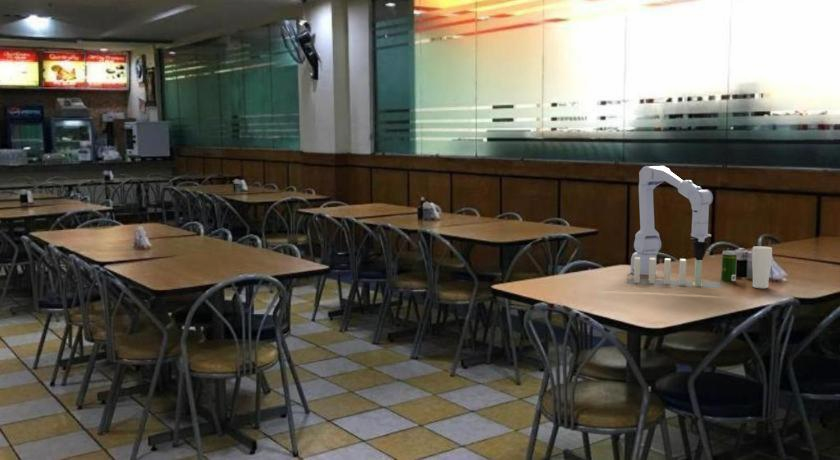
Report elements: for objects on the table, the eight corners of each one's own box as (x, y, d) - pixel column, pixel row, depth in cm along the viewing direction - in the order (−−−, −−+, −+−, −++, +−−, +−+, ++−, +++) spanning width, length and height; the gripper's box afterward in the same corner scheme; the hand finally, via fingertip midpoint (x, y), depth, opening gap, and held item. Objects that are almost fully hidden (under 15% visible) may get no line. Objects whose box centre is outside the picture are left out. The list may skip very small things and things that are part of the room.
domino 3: (664, 283, 305) (665, 260, 304) (663, 281, 310) (664, 258, 309) (669, 284, 305) (670, 260, 304) (669, 281, 310) (670, 258, 308)
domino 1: (634, 282, 308) (634, 258, 307) (633, 280, 313) (634, 257, 311) (639, 282, 307) (640, 259, 306) (639, 280, 312) (640, 257, 311)
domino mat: (627, 285, 306) (627, 283, 306) (626, 280, 316) (626, 278, 316) (721, 290, 298) (721, 287, 298) (718, 284, 308) (718, 282, 308)
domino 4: (679, 284, 304) (680, 260, 303) (678, 282, 309) (679, 258, 308) (685, 284, 304) (686, 260, 303) (684, 282, 308) (685, 258, 307)
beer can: (738, 282, 313) (739, 251, 311) (730, 284, 309) (732, 252, 308) (725, 280, 317) (726, 249, 315) (717, 282, 314) (719, 251, 312)
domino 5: (695, 285, 303) (696, 261, 302) (694, 282, 307) (695, 259, 306) (701, 285, 302) (702, 261, 301) (699, 283, 307) (700, 259, 306)
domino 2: (649, 283, 307) (650, 259, 306) (648, 280, 311) (649, 257, 310) (654, 283, 306) (655, 259, 305) (654, 281, 311) (654, 257, 310)
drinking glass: (749, 288, 301) (751, 248, 300) (751, 285, 307) (753, 245, 306) (769, 289, 298) (771, 249, 296) (771, 286, 304) (773, 246, 302)
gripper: (713, 224, 294) (712, 262, 296) (709, 220, 308) (707, 256, 310) (693, 224, 296) (691, 261, 297) (689, 220, 310) (688, 255, 311)
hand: (698, 258), depth 304 cm, fingers open, 6 cm apart
